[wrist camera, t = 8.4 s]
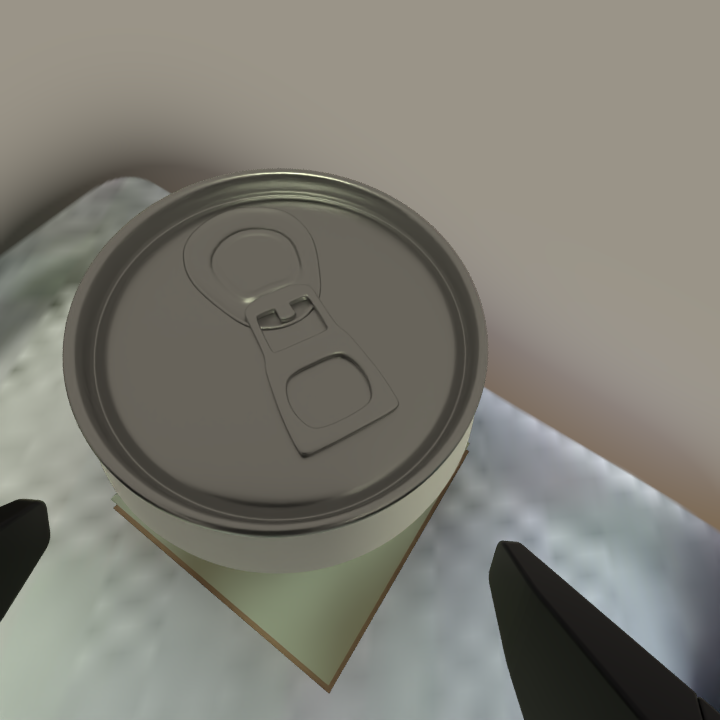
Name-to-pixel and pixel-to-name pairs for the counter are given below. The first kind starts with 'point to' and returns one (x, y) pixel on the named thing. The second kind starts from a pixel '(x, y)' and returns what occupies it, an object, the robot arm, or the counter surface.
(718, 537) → the counter surface
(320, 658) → the tower base
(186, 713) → the counter surface
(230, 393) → the can
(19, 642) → the counter surface
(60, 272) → the counter surface
